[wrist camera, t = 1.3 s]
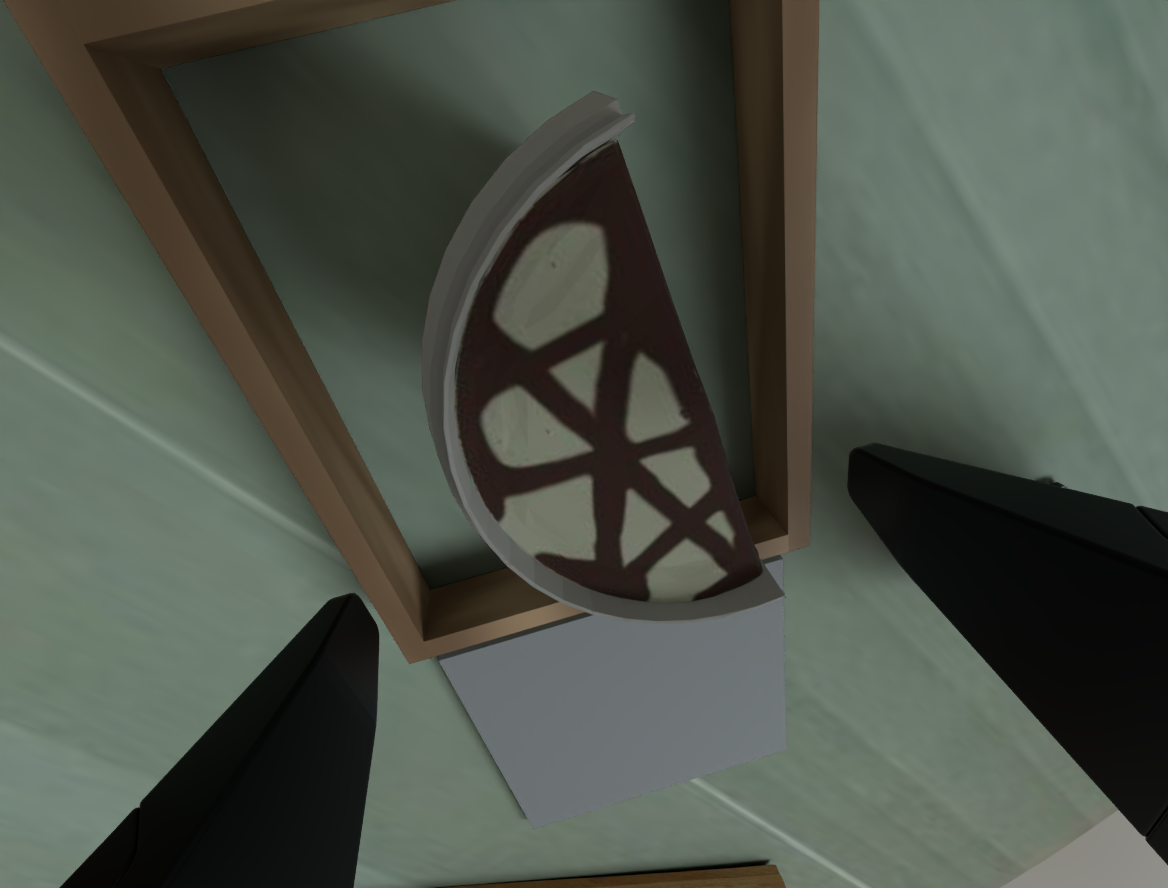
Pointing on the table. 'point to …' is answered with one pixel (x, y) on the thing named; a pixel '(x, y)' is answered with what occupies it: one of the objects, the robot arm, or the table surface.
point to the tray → (663, 880)
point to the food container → (581, 392)
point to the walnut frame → (276, 353)
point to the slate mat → (624, 704)
